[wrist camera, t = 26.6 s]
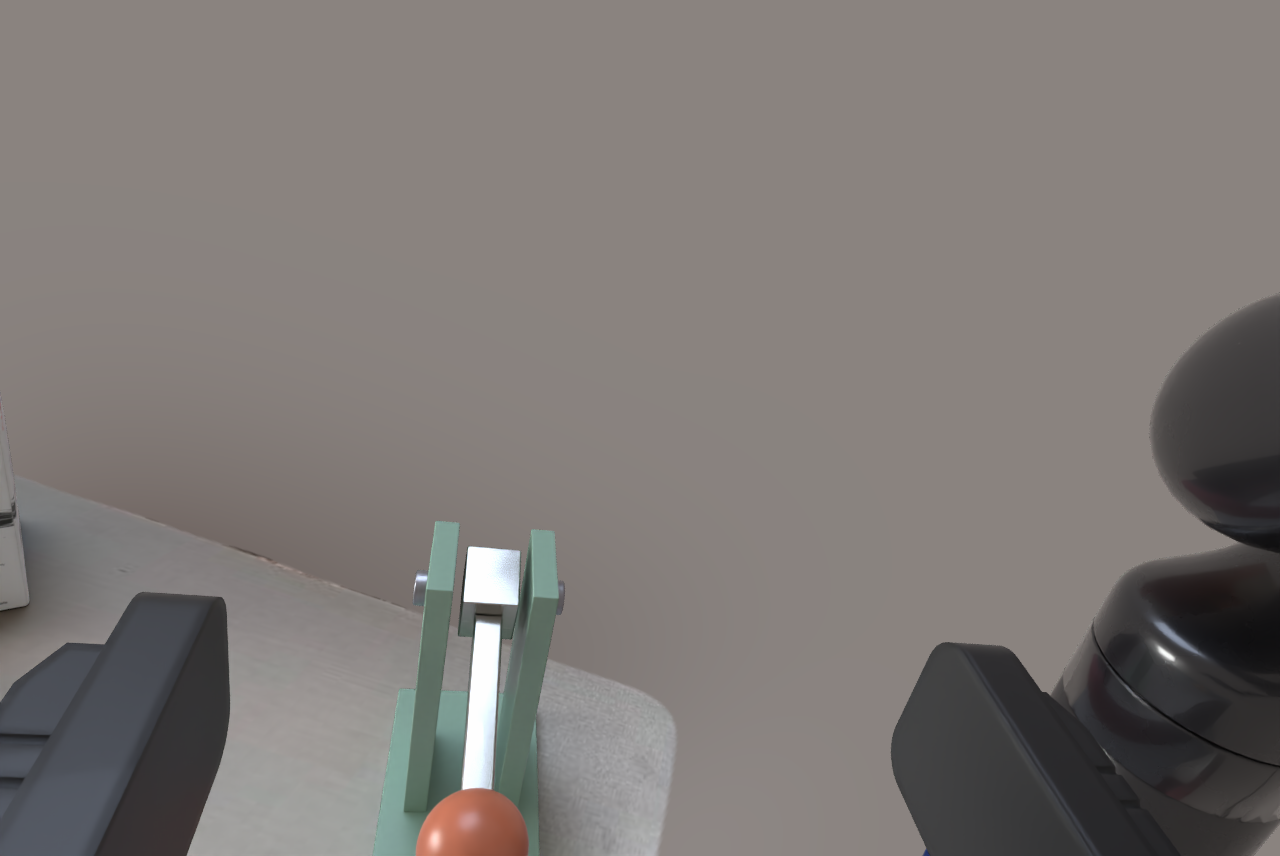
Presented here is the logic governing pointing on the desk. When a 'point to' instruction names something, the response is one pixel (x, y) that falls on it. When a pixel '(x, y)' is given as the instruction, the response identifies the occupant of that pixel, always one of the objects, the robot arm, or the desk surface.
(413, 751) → the switch bracket
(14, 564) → the ink box
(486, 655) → the switch lever
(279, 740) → the desk surface
